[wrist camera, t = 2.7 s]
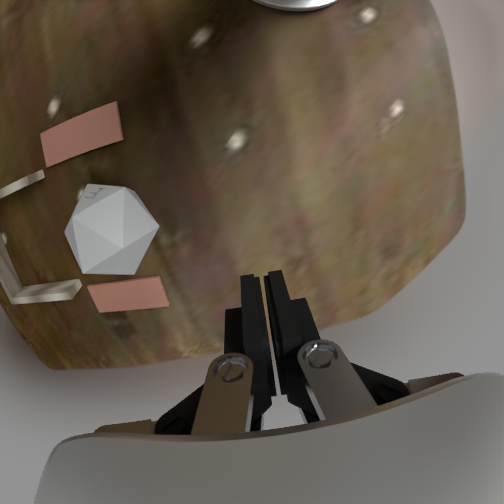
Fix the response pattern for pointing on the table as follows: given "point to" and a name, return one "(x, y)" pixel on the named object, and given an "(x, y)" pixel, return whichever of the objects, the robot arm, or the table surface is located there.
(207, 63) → the table surface
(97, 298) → the mat
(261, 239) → the table surface
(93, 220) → the die
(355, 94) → the table surface
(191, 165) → the table surface
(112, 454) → the robot arm
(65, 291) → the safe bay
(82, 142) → the mat
